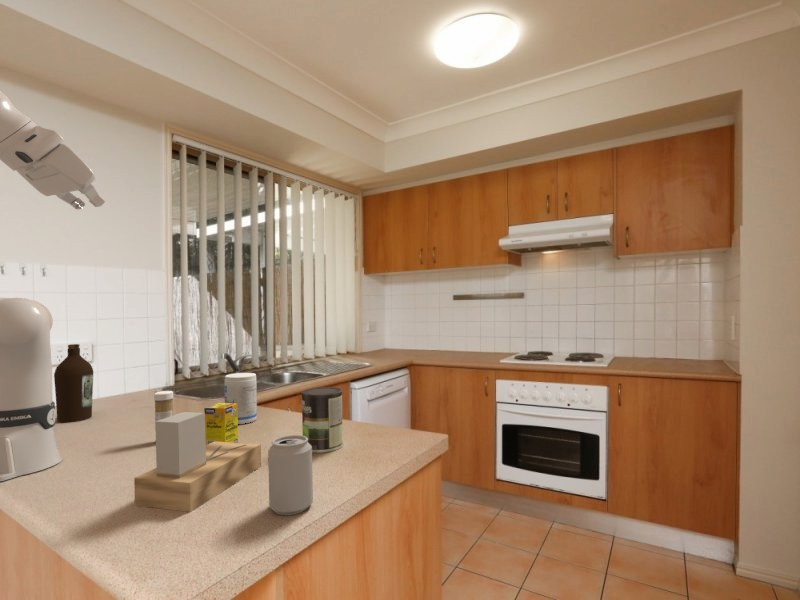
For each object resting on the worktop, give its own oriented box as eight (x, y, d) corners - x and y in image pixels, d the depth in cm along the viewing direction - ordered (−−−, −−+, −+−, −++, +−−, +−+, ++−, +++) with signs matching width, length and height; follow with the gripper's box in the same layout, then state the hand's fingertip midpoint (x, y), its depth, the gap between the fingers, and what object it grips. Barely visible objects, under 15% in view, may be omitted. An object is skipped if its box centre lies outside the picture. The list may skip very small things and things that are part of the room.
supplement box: (225, 452, 109) (224, 408, 109) (204, 451, 110) (203, 407, 110) (239, 445, 115) (238, 402, 115) (218, 444, 116) (217, 402, 116)
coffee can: (308, 455, 105) (307, 396, 105) (297, 444, 114) (296, 389, 114) (349, 448, 110) (348, 391, 110) (335, 438, 119) (334, 385, 119)
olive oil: (47, 424, 142) (46, 346, 142) (64, 416, 152) (63, 344, 152) (85, 421, 144) (84, 345, 144) (99, 414, 154) (98, 342, 155)
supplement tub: (218, 423, 137) (217, 376, 137) (241, 416, 146) (241, 371, 146) (240, 426, 133) (239, 377, 133) (263, 419, 141) (262, 373, 141)
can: (295, 494, 83) (294, 430, 83) (321, 505, 78) (320, 437, 79) (260, 509, 77) (259, 440, 78) (286, 521, 73) (285, 448, 73)
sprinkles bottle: (175, 438, 122) (174, 389, 122) (172, 443, 118) (171, 392, 118) (156, 440, 121) (155, 391, 121) (153, 445, 116) (152, 394, 116)
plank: (190, 511, 77) (190, 482, 77) (134, 505, 80) (134, 477, 80) (261, 466, 98) (260, 443, 98) (214, 463, 101) (214, 441, 101)
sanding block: (179, 478, 79) (178, 422, 80) (156, 476, 81) (155, 421, 81) (206, 464, 86) (204, 412, 86) (184, 462, 88) (183, 412, 88)
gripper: (-6, 165, 86) (59, 218, 95) (30, 151, 74) (101, 214, 83) (21, 145, 89) (82, 199, 98) (59, 129, 77) (124, 192, 86)
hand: (91, 206), depth 90 cm, fingers open, 8 cm apart
